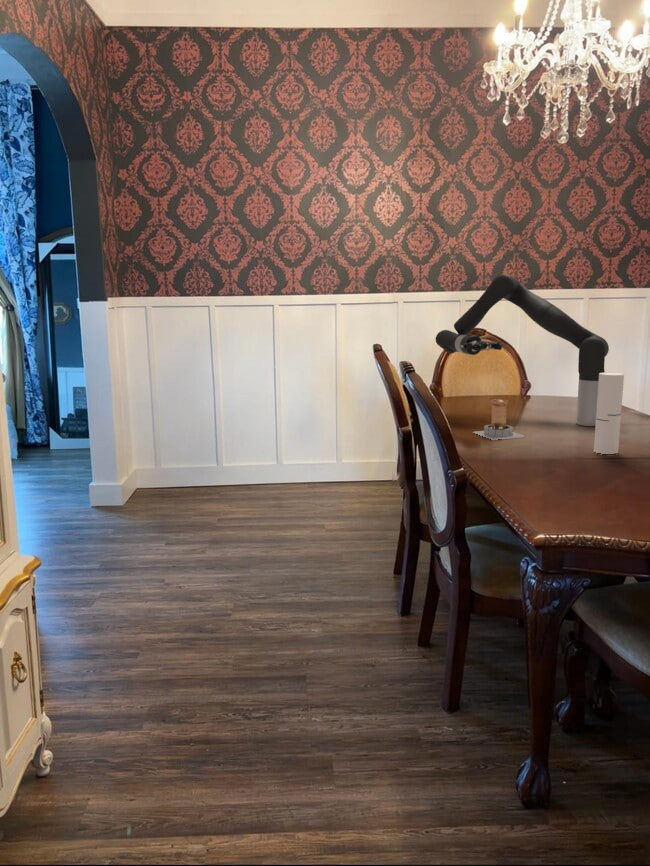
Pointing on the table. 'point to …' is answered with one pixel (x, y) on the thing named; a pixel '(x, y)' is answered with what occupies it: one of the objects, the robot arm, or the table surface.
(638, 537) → the table surface
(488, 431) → the duct collar
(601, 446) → the cylindrical container
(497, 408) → the copper pipe
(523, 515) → the table surface
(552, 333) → the robot arm
